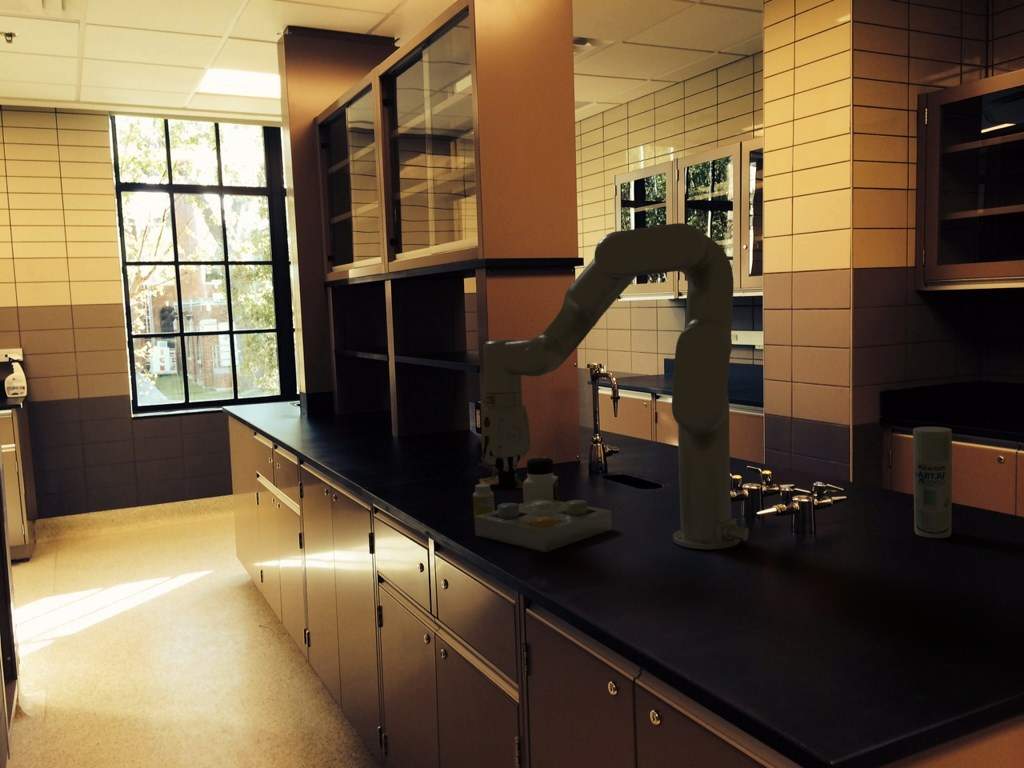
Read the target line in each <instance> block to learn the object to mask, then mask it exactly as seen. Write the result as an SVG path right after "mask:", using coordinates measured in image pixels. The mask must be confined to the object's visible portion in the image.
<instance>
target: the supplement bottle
mask: <svg viewBox="0 0 1024 768" xmlns="http://www.w3.org/2000/svg"><path fill="white" fill-rule="evenodd" d="M474 487H475V492H473V494H472V500H473V501H472V502H473V503H472V504H473V519H474V522H475V517H474V516H478V515H481V514H485V513H489V512H492V511H496V509H495V495H494V492H493V491H492V490H491V485H489V484H480V483H479V484H476V485H475V486H474Z"/></svg>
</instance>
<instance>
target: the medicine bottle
mask: <svg viewBox="0 0 1024 768" xmlns="http://www.w3.org/2000/svg"><path fill="white" fill-rule="evenodd" d="M526 473H527V474H526V476H527V478H525V480H524V481H523V482H522V484H523V488H522V491H523V492H522V495H523V496H522V497H523V503H525V502H529V501H532V500H536V499H540V498H545V499H550V500H556V501H560V491H559V489H560V488H559V476H557V475H555V474H554V461H553V459H552V458H549V457H547V456H536V457H531V458H529V459H528V460H527V461H526Z"/></svg>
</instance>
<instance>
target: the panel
mask: <svg viewBox="0 0 1024 768" xmlns="http://www.w3.org/2000/svg"><path fill="white" fill-rule="evenodd" d="M535 501H551V502H552V508H548V509H545V510H539V509H534V508H532V502H535ZM566 502H567V501H561V500H559V501H556V500H550V499H545V498H540V499H536V500H532V501H529V502H525V503H524V502H522V503H519V517H517V518H514V519H510V520H505V519H500V518H498V509H495V511H492V512H489V513H485V514H481V515H478V516H474V515H473V518H474V517H475V521H474V530H475V535H474V536H477V537H481V538H485V539H490V540H493V541H497V542H501V543H506V544H508V545H513V546H518V547H521V548H526V549H529V550H533V551H538V552H543V553H548V552H551V551H553V550H556V549H558V548H562V547H565V546H569V545H571V544H574V543H577V542H579V541H580V542H581V541H582V540H585V539H589V538H592V537H594V536H597V535H599V534H604V533H605V532H606V533H607V532H608V531H611V530H613V519H612V517H613V516H612V510H611V509H605V508H599V507H596V506H595V507H594V506H589V505H587V507H588V514H586V515H583V516H580V517H575V516H570V515H566ZM537 517H552V518H554V521H555V524H554V525H551V526H548V527H545V528H542V527H538V526H533V525H532V519H534V518H537Z"/></svg>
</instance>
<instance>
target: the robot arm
mask: <svg viewBox="0 0 1024 768" xmlns="http://www.w3.org/2000/svg"><path fill="white" fill-rule="evenodd" d="M731 264H732V263H731V261H730V259H729V258H728V254H727V253H726V252H725V250H724V249H723V248H722V246H720V245H719V243H717V242H716V241H715V240H714V239H712V238H711V237H709V236H708V235H706V234H704V233H703V232H702V231H700V230H699V229H697V227H695V226H694V225H691V224H688V223H683V222H677V223H670V224H669V223H667V224H661V225H655V226H649V227H648V226H647V227H642V228H634V229H626V230H625V229H623V230H617V231H613V232H609V233H607V234H606V235H604V236H603V237H602V238H601V239H600V240H599V241H598V243H597V244H596V247H595V249H594V258H593V259H592V260H591V261H590V262H589V264H588V265H587V266H586V267H585V268H584V270H582V271H581V273H580V274H579V275H578V276H577V277H576V279H575V280H574V281H573V282H572V283H571V285H569V287H568V289H567V290H566V292H565V295H564V300H563V304H562V307H561V308H560V310H559V312H558V314H557V315H556V316H555V317H554V319H553V320H552V321H551V322H550V324H549V325H548V326H547V327H546V329H544V331H543V332H542V333H541V334H540V335H539V336H538V337H534V338H529V339H523V340H515V339H493V340H487V341H486V342H485V343H484V344H483V350H482V351H483V352H482V354H483V373H484V374H483V375H484V376H483V377H484V378H483V379H484V380H483V382H484V397H483V398H482V403H483V404H485V408H484V409H483V412H482V420H481V450H482V451H481V452H482V454H483V456H484V460H485V461H484V463H485V464H486V465H487V464H488V465H492V464H493V465H494V466H495V468H496V470H498V471H497V474H498V477H499V484H498V488H499V490H503V491H504V490H505V491H511V490H515V489H516V488H515V485H516V484H515V483H516V481H515V473H516V470H517V468H518V463H519V462H520V460H521V459H523V458H525V457H526V456H527V453H529V451H531V432H530V431H531V430H530V422H529V417H528V412H527V409H526V406H525V405H523V393H522V392H523V388H522V385H523V384H522V376H525V377H540V376H544V375H546V374H549V373H552V372H554V371H557V369H559V368H560V367H561V366H562V365H563V364H564V363H565V361H567V359H568V358H569V357H570V356H571V355H572V354H573V352H574V351H575V350H576V349H577V348H578V347H579V346H580V345H581V343H582V342H583V341H584V339H585V338H586V337H587V335H588V334H589V333H590V332H591V330H592V329H593V328H595V326H596V325H597V323H598V322H599V321H600V319H601V318H602V316H603V315H604V314H605V313H606V312H607V311H608V309H609V308H610V307H611V306H612V305H613V304H614V302H615V301H617V299H618V298H619V297H620V296H621V295H622V293H623V292H625V290H626V289H627V288H628V287H629V286H630V284H631V283H632V282H633V281H635V278H636V277H640V276H647V275H656V274H663V273H664V274H665V273H672V272H673V273H674V272H680V273H682V274H683V275H684V276H685V279H686V281H687V291H686V298H685V299H686V300H685V301H686V303H685V304H686V307H685V308H686V309H685V321H684V326H683V327H684V328H683V330H682V331H681V333H679V336H678V338H677V340H676V345H675V353H674V354H675V355H674V366H673V367H674V368H673V382H672V393H671V395H672V396H671V413H672V416H673V419H674V421H675V422H676V424H677V429H678V431H677V432H678V433H677V435H678V436H677V437H678V438H677V439H678V441H677V443H678V445H677V447H678V477H679V478H678V481H679V483H678V485H679V512H680V515H679V516H680V529H678V530H676V531H675V532H674V533H673V534H672V541H673V543H675V544H676V545H678V546H681V547H683V548H688V549H694V550H707V551H708V550H723V549H727V548H728V549H729V548H732V547H735V546H738V544H739V543H740V542H741V541H744V542H745V541H747V540H748V538H749V532H750V531H749V530H750V529H749V527H744V526H738V525H737V518H735V517H732V505H731V504H732V502H731V499H732V497H731V496H732V495H731V470H730V469H731V465H730V464H731V462H730V461H731V456H730V455H731V454H730V453H731V448H730V400H729V394H728V387H729V386H728V383H729V373H730V363H731V362H730V359H731V353H732V350H733V341H732V327H733V326H732V325H733V311H734V307H733V305H734V284H735V283H734V271H733V267H732V265H731ZM493 465H492V466H493ZM494 466H493V467H494ZM495 468H494V469H495Z"/></svg>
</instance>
